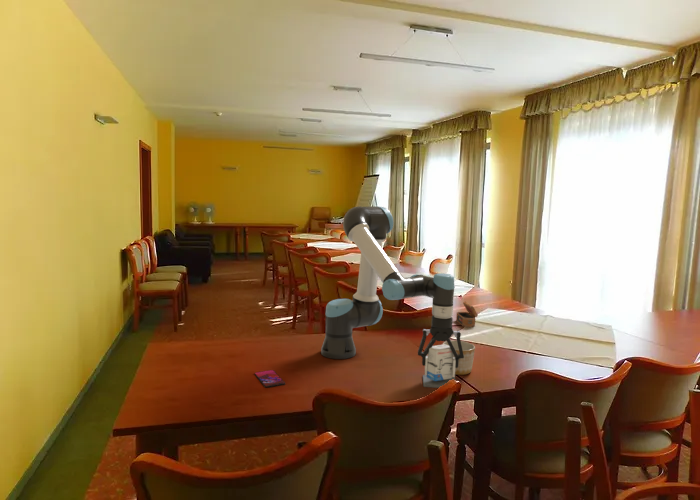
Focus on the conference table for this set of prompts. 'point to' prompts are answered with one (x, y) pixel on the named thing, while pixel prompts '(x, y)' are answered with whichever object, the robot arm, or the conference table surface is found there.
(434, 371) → the ink box
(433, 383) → the mat
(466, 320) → the box
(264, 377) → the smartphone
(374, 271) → the robot arm
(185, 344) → the conference table surface
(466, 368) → the planter
